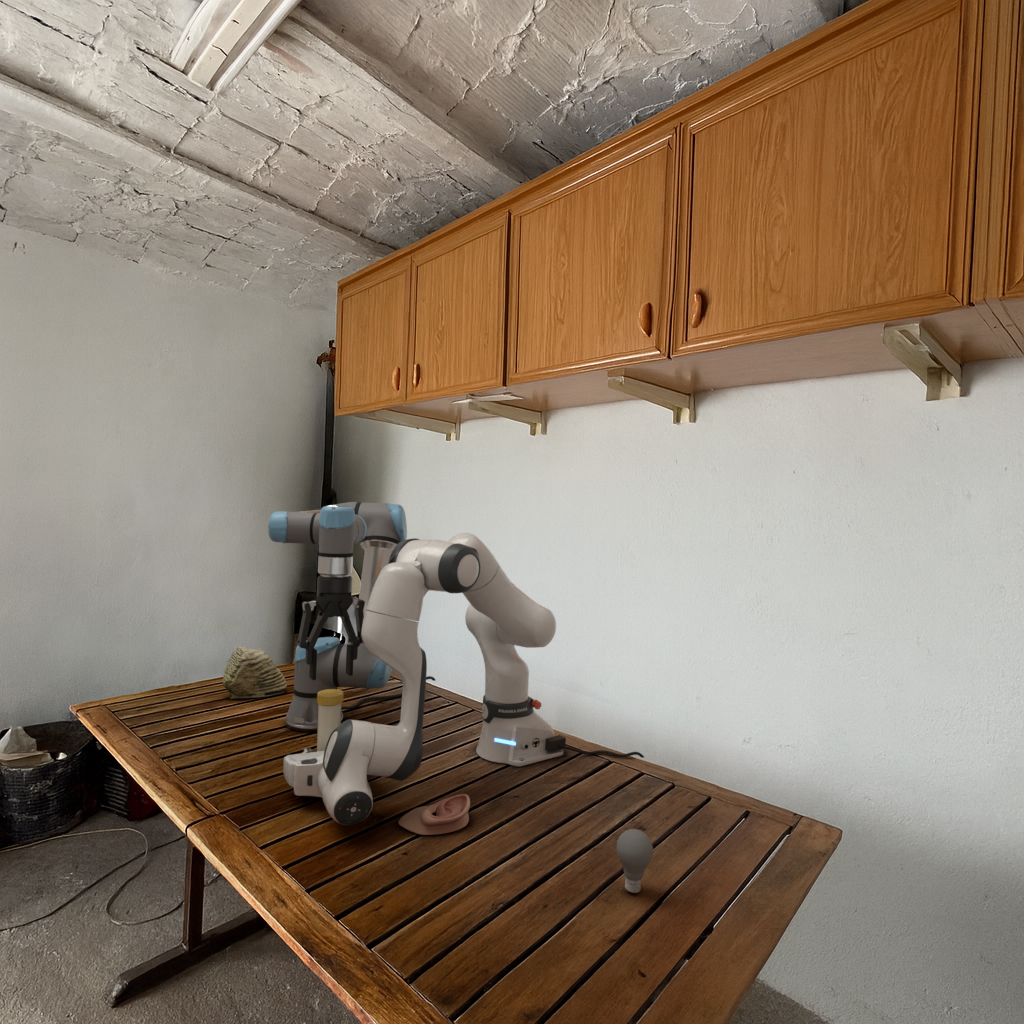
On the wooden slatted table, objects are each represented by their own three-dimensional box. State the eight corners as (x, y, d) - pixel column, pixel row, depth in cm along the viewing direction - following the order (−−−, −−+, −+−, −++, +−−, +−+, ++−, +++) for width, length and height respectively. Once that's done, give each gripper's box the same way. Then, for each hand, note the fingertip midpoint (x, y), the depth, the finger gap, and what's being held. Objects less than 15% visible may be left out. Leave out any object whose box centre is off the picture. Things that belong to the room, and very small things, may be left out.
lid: (341, 696, 146) (342, 688, 146) (344, 704, 141) (344, 695, 141) (316, 698, 144) (316, 689, 144) (317, 706, 139) (318, 697, 139)
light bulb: (610, 879, 108) (613, 822, 108) (644, 879, 109) (647, 822, 109) (619, 902, 102) (622, 840, 102) (655, 901, 103) (658, 840, 103)
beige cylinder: (337, 771, 146) (340, 690, 146) (339, 781, 141) (343, 697, 141) (314, 774, 144) (318, 692, 144) (316, 783, 140) (319, 698, 139)
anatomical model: (392, 810, 121) (414, 784, 132) (391, 830, 121) (413, 803, 132) (459, 820, 118) (475, 792, 130) (458, 841, 118) (474, 812, 130)
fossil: (218, 695, 195) (220, 647, 195) (278, 685, 208) (279, 640, 207) (228, 703, 189) (230, 653, 188) (289, 692, 201) (290, 645, 201)
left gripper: (372, 571, 151) (369, 667, 151) (283, 574, 140) (280, 677, 140) (384, 575, 144) (380, 675, 145) (292, 578, 133) (288, 686, 134)
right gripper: (388, 752, 135) (374, 729, 148) (287, 765, 127) (281, 740, 139) (387, 781, 135) (373, 756, 148) (286, 797, 127) (280, 769, 139)
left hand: (331, 676), depth 142 cm, fingers open, 8 cm apart
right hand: (327, 749), depth 144 cm, fingers open, 8 cm apart
